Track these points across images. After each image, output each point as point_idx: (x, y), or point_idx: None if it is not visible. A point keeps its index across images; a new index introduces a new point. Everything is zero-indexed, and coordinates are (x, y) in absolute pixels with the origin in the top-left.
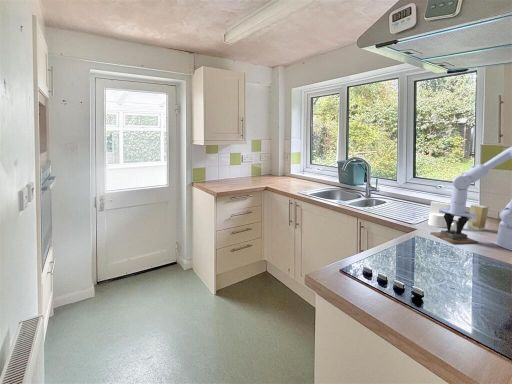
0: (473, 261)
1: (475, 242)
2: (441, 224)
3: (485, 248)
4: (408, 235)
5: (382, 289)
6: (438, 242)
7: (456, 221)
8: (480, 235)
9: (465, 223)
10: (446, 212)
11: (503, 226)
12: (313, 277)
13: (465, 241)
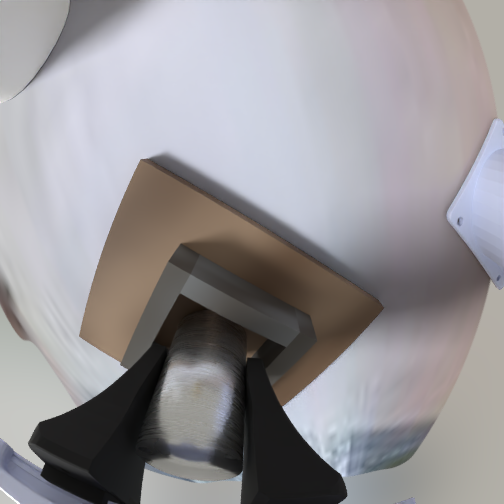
0: (350, 468)
1: (367, 320)
2: (21, 68)
3: (408, 355)
4: None
5: None
6: None
7: (210, 476)
8: (345, 15)
9: (299, 441)
10: (57, 496)
11: None
12: None
13: (311, 370)
